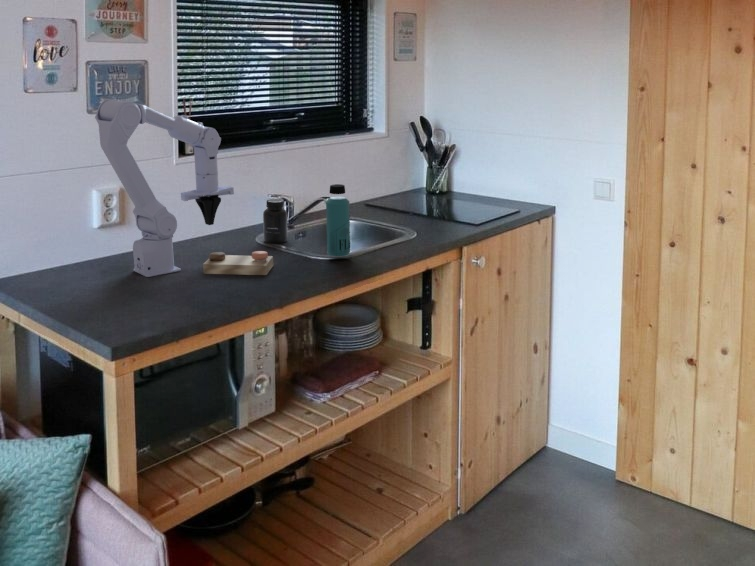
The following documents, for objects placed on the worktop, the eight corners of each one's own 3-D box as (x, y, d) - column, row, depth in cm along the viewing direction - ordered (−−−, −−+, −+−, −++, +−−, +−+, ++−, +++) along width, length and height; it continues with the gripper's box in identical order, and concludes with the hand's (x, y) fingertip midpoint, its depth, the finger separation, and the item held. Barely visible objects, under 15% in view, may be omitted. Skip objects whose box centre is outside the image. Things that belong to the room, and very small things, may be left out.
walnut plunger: (215, 270, 216) (214, 256, 215) (207, 267, 219) (206, 253, 218) (228, 267, 219) (228, 254, 218) (220, 264, 222) (219, 251, 221)
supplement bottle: (268, 245, 243) (267, 203, 240) (260, 239, 249) (258, 199, 245) (291, 242, 246) (290, 201, 243) (282, 237, 252) (281, 197, 248)
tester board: (203, 273, 215) (203, 264, 214) (213, 264, 224) (212, 254, 223) (266, 275, 214) (265, 265, 213) (273, 265, 222) (273, 256, 222)
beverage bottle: (338, 263, 225) (338, 188, 219) (321, 258, 229) (319, 185, 223) (355, 258, 229) (355, 184, 223) (338, 254, 234) (337, 181, 228)
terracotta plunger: (257, 269, 215) (257, 255, 214) (249, 266, 218) (248, 252, 217) (271, 267, 218) (270, 253, 217) (262, 263, 221) (262, 250, 220)
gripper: (189, 178, 215) (192, 230, 219) (238, 172, 224) (241, 222, 228) (175, 174, 220) (179, 226, 224) (224, 168, 229) (227, 218, 233)
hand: (209, 224), depth 226 cm, fingers closed
